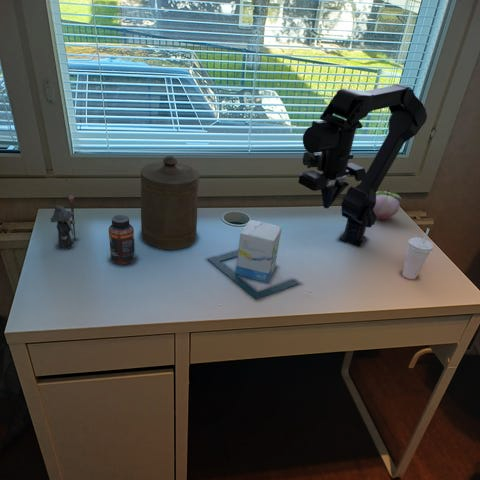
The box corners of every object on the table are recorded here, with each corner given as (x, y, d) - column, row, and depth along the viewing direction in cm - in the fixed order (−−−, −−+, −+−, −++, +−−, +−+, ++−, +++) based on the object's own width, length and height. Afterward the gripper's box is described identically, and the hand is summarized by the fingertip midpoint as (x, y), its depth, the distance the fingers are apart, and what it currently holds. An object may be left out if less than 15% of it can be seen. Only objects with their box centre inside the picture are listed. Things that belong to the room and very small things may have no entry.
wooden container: (203, 230, 135) (207, 153, 121) (185, 254, 123) (188, 172, 110) (154, 220, 137) (152, 143, 123) (132, 243, 125) (128, 160, 112)
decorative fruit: (392, 215, 156) (401, 186, 150) (396, 226, 149) (405, 196, 143) (364, 211, 156) (372, 182, 150) (366, 222, 150) (374, 192, 144)
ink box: (267, 282, 116) (274, 241, 109) (234, 274, 118) (239, 232, 111) (275, 266, 123) (282, 226, 116) (244, 258, 124) (249, 218, 117)
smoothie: (408, 283, 122) (426, 235, 114) (392, 271, 127) (408, 223, 118) (426, 279, 125) (445, 231, 117) (409, 267, 129) (426, 220, 121)
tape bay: (249, 248, 129) (249, 247, 129) (298, 284, 117) (298, 283, 117) (208, 260, 122) (208, 259, 122) (255, 299, 110) (256, 298, 110)
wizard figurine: (75, 252, 119) (69, 207, 112) (52, 251, 118) (44, 206, 111) (80, 236, 125) (75, 193, 118) (58, 235, 125) (52, 192, 117)
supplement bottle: (140, 258, 120) (138, 217, 113) (126, 268, 115) (123, 226, 108) (120, 251, 121) (117, 210, 114) (105, 261, 117) (102, 219, 110)
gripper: (341, 133, 124) (328, 190, 133) (288, 141, 114) (279, 202, 124) (374, 147, 117) (358, 206, 127) (321, 156, 107) (308, 219, 117)
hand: (325, 207), depth 124 cm, fingers closed
